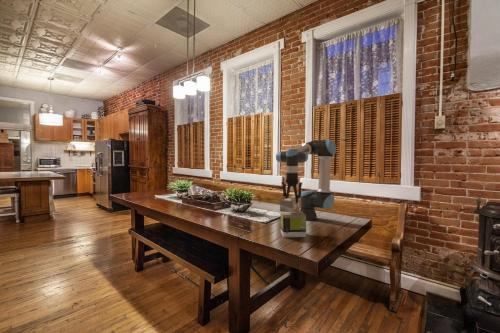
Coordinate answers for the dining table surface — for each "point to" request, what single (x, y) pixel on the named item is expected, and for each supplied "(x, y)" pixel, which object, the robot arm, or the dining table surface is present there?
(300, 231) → the tea box
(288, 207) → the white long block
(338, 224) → the dining table surface
